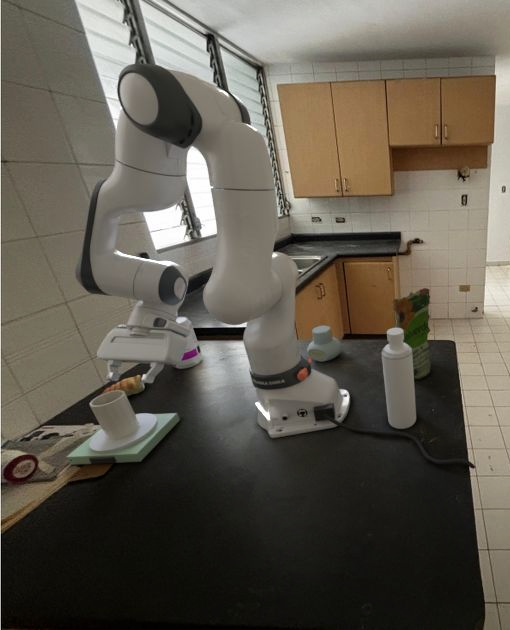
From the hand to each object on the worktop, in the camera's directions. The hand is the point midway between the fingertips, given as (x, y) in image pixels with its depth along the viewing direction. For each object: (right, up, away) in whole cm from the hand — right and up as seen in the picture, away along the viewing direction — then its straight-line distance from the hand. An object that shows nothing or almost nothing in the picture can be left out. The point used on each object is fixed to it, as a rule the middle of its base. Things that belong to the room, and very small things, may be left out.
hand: (128, 381), depth 77 cm
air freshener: (+36, +2, +33) cm, 49 cm away
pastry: (-17, -7, +19) cm, 26 cm away
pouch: (+65, -1, +23) cm, 69 cm away
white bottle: (+63, -10, +3) cm, 63 cm away
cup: (-1, -11, -1) cm, 11 cm away
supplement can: (-9, -1, +33) cm, 34 cm away
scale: (0, -14, +1) cm, 14 cm away
